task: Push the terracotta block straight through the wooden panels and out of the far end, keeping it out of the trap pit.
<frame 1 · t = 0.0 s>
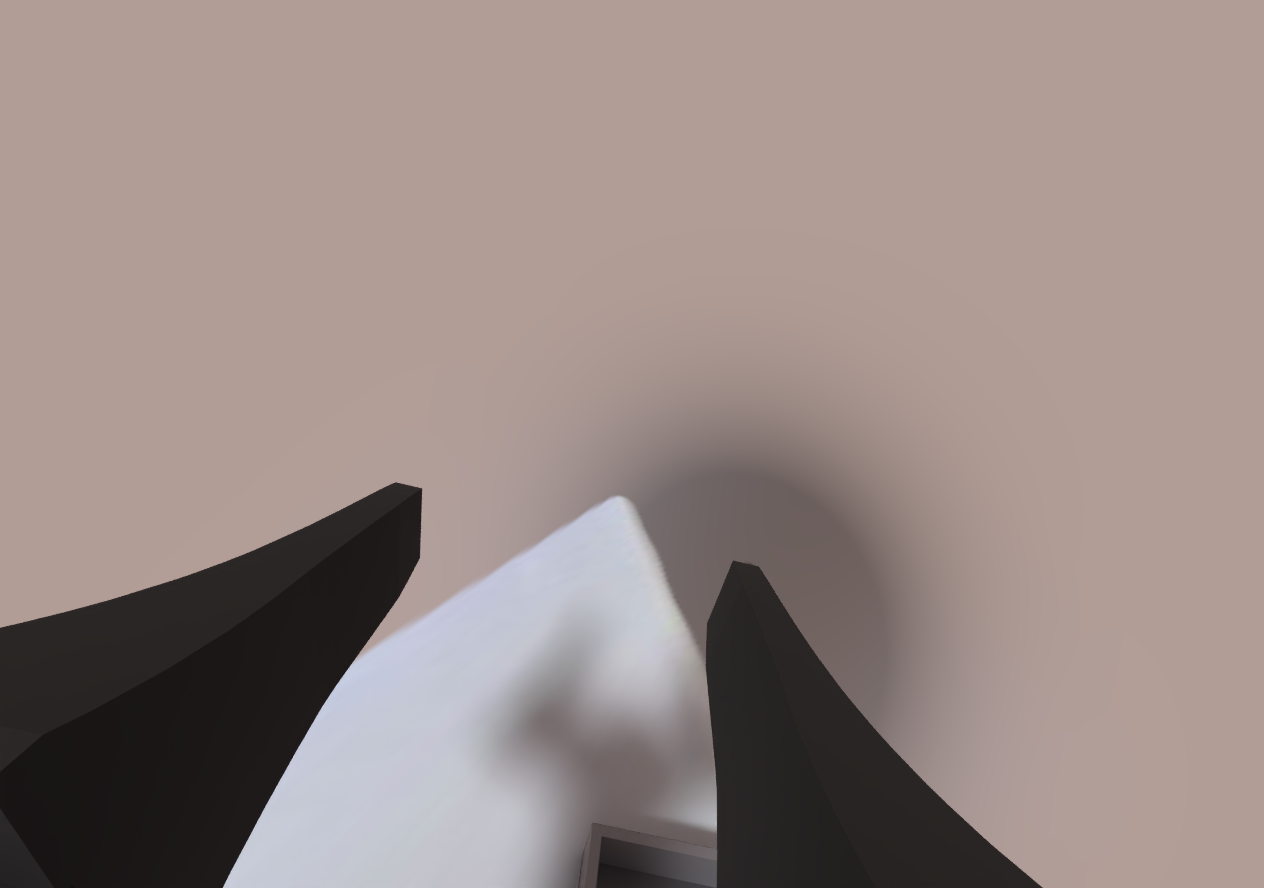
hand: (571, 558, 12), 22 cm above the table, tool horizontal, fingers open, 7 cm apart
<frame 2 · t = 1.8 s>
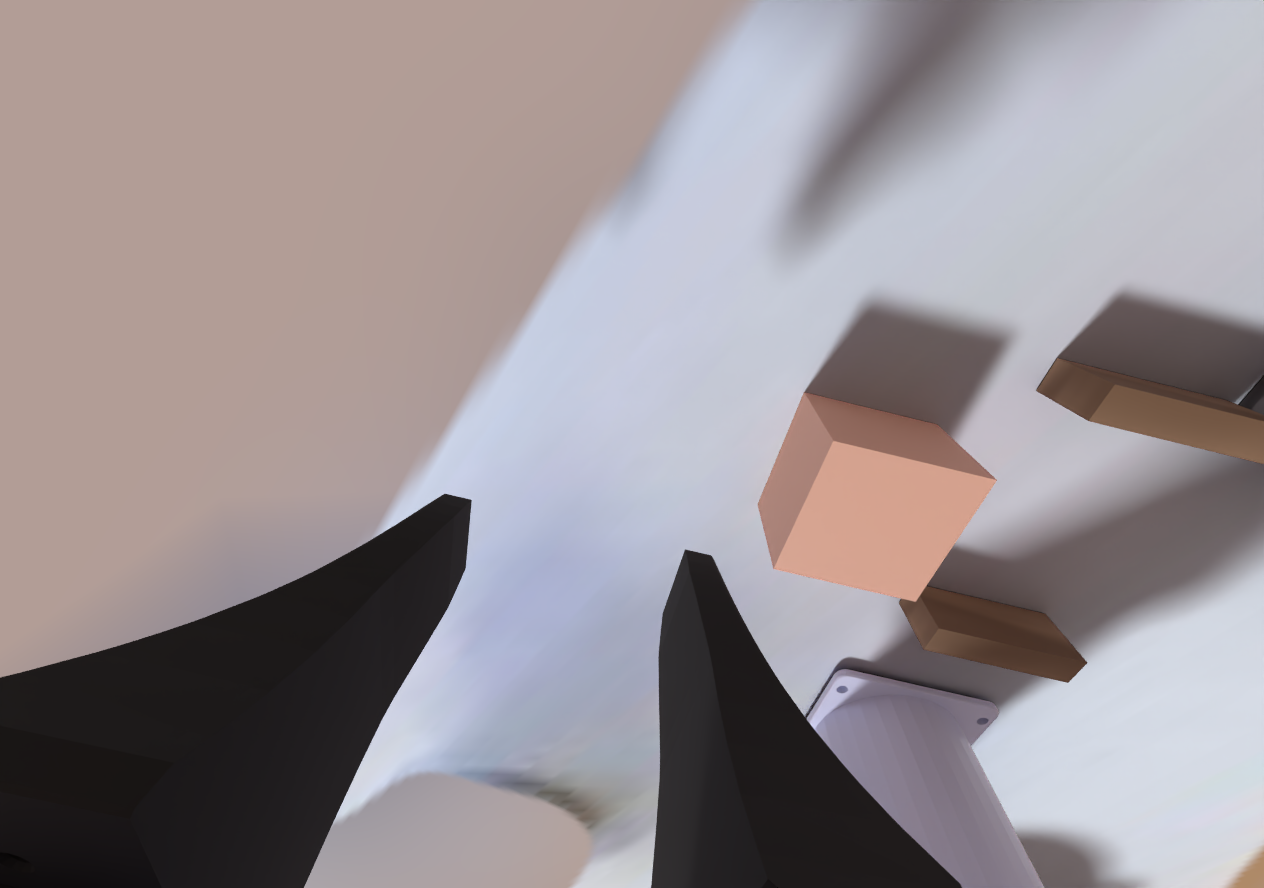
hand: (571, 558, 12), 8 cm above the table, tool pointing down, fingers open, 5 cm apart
terracotta block: (841, 464, 19), on the table
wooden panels: (1041, 514, 20), on the table
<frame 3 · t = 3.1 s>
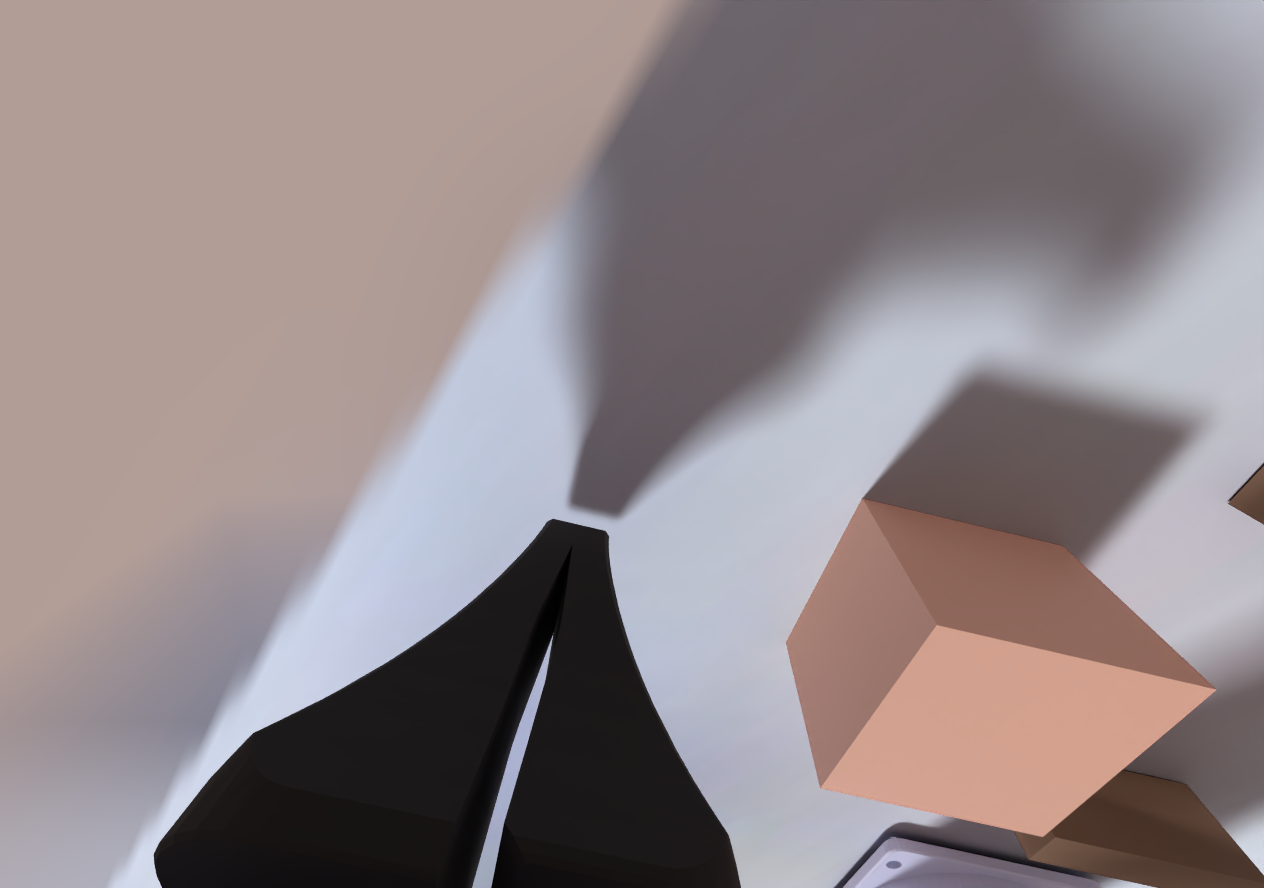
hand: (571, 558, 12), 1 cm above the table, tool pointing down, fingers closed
terracotta block: (911, 594, 13), on the table
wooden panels: (1203, 666, 13), on the table
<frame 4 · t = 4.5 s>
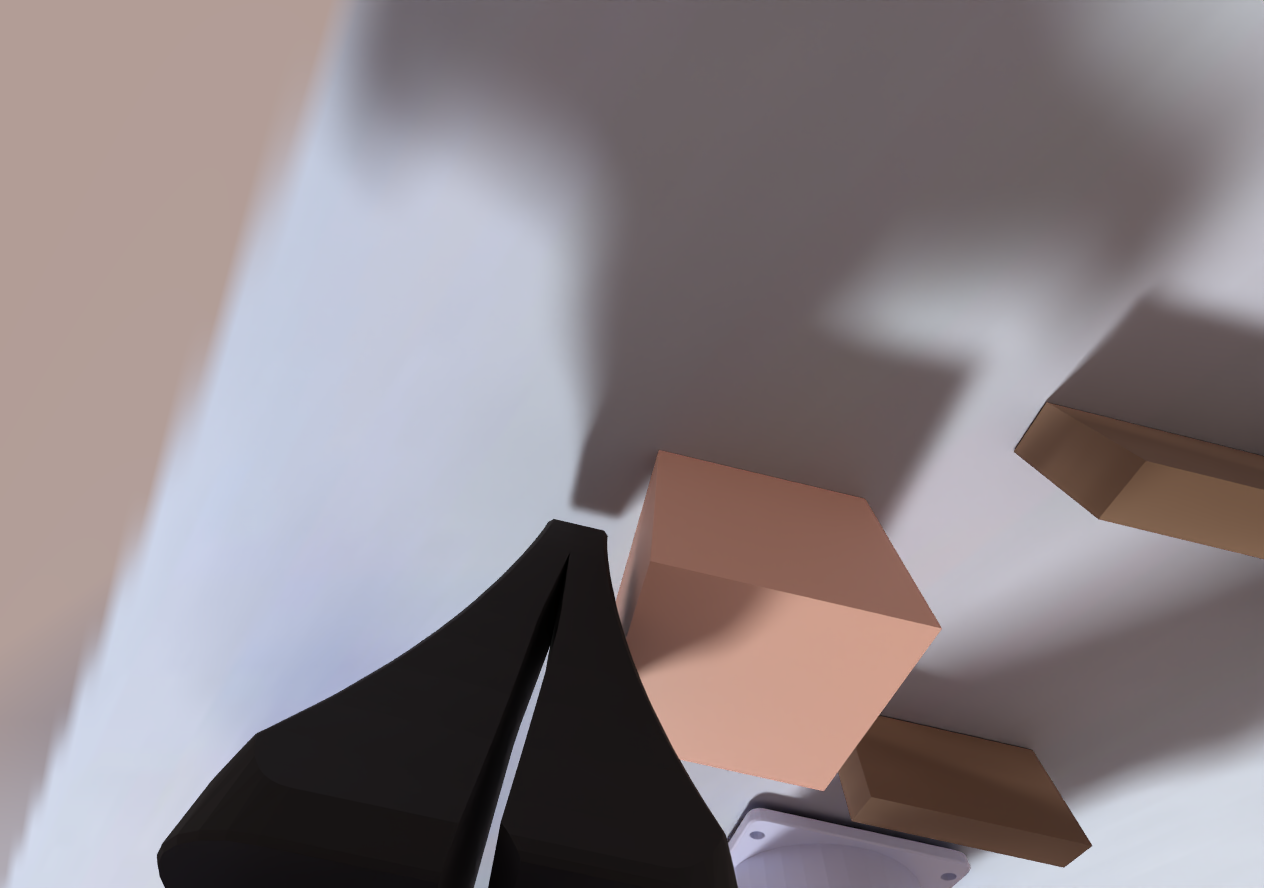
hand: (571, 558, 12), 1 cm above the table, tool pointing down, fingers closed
terracotta block: (729, 553, 13), on the table, touching gripper
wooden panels: (1024, 625, 13), on the table
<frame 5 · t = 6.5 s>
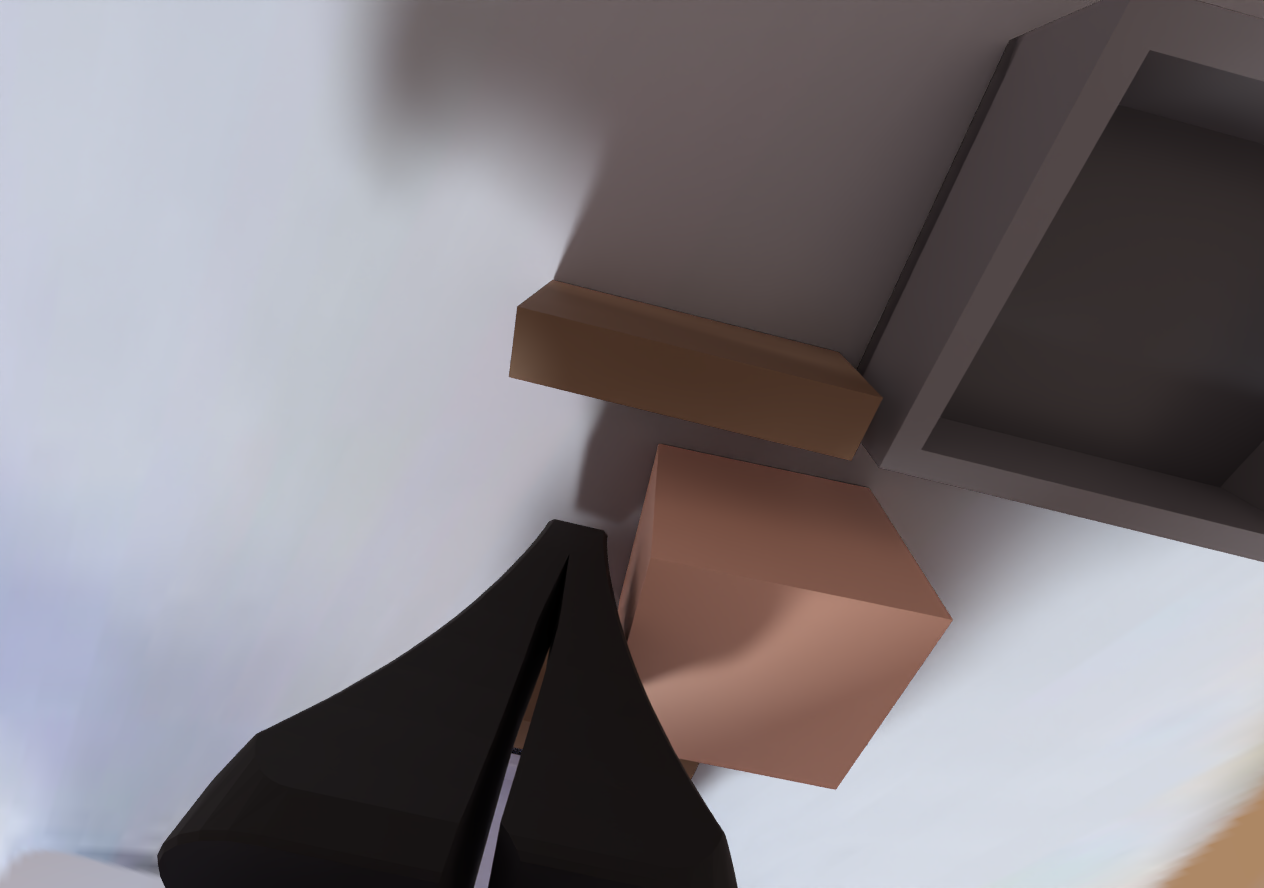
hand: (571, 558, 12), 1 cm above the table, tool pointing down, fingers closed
trap pit: (1124, 310, 10), on the table
terracotta block: (733, 549, 13), on the table, touching gripper
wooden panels: (633, 534, 13), on the table
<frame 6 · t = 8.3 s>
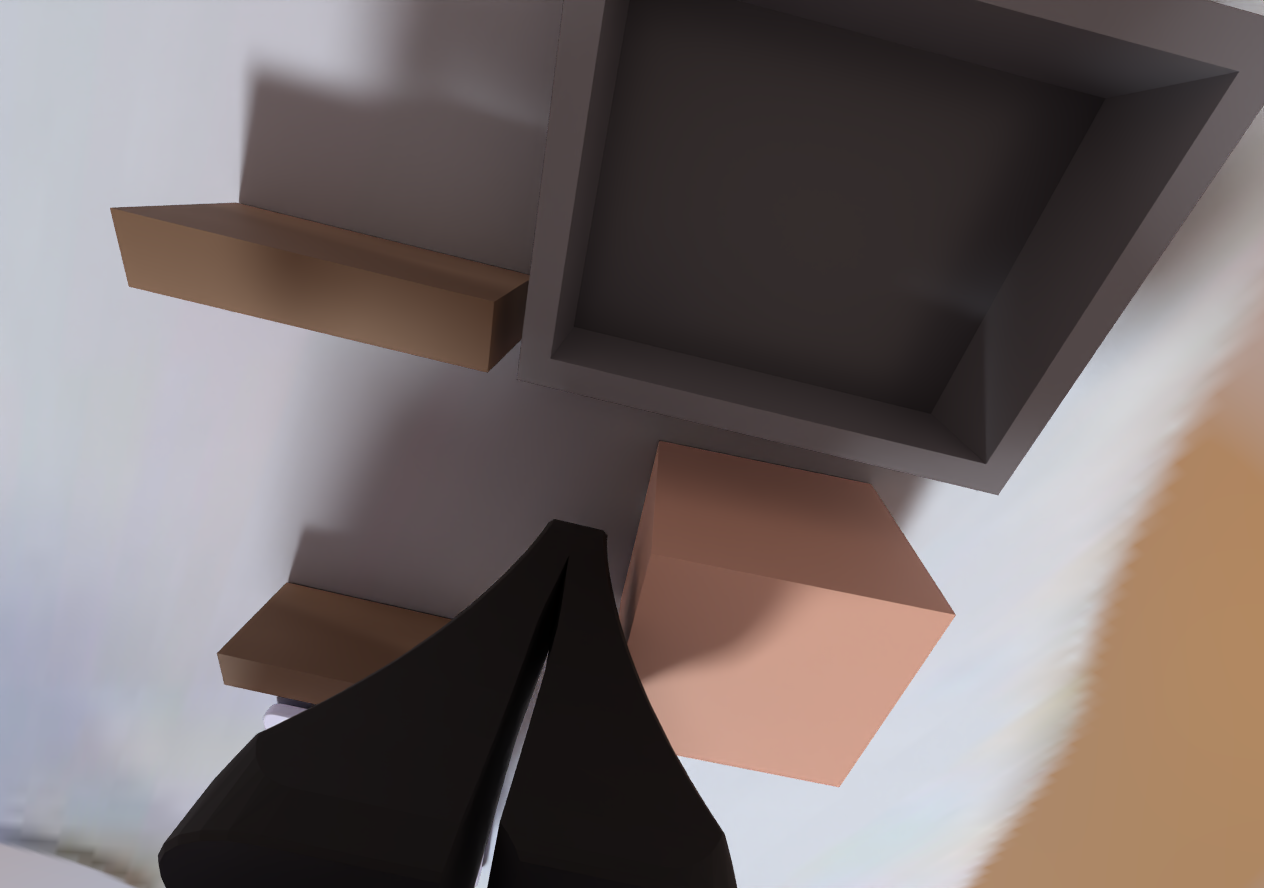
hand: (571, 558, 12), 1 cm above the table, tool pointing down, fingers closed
trap pit: (800, 225, 9), on the table
terracotta block: (735, 546, 13), on the table, touching gripper
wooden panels: (388, 477, 13), on the table
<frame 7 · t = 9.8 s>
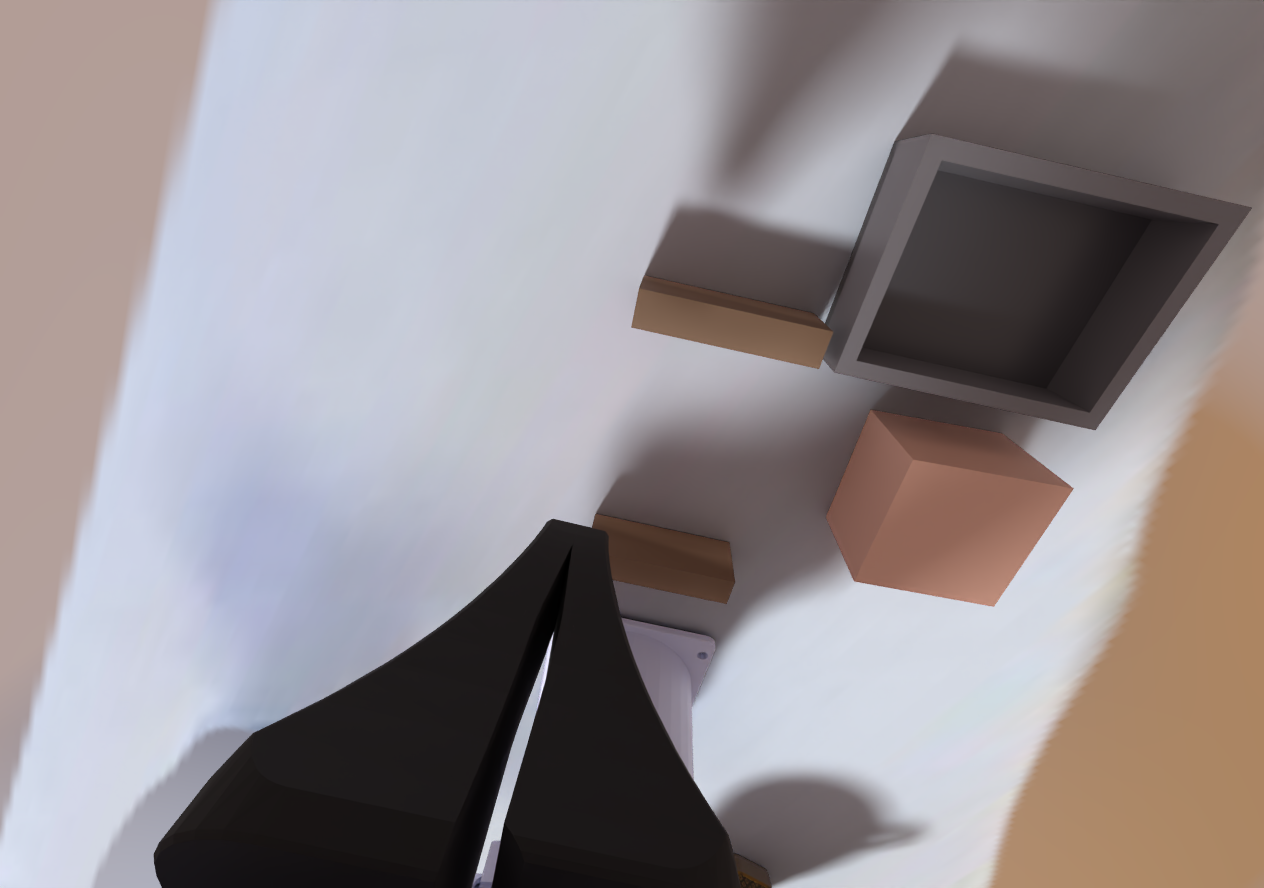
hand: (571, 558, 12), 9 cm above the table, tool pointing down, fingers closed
ceramic cup: (742, 873, 35), on the table
trap pit: (976, 283, 17), on the table
terracotta block: (907, 476, 20), on the table
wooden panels: (688, 438, 20), on the table
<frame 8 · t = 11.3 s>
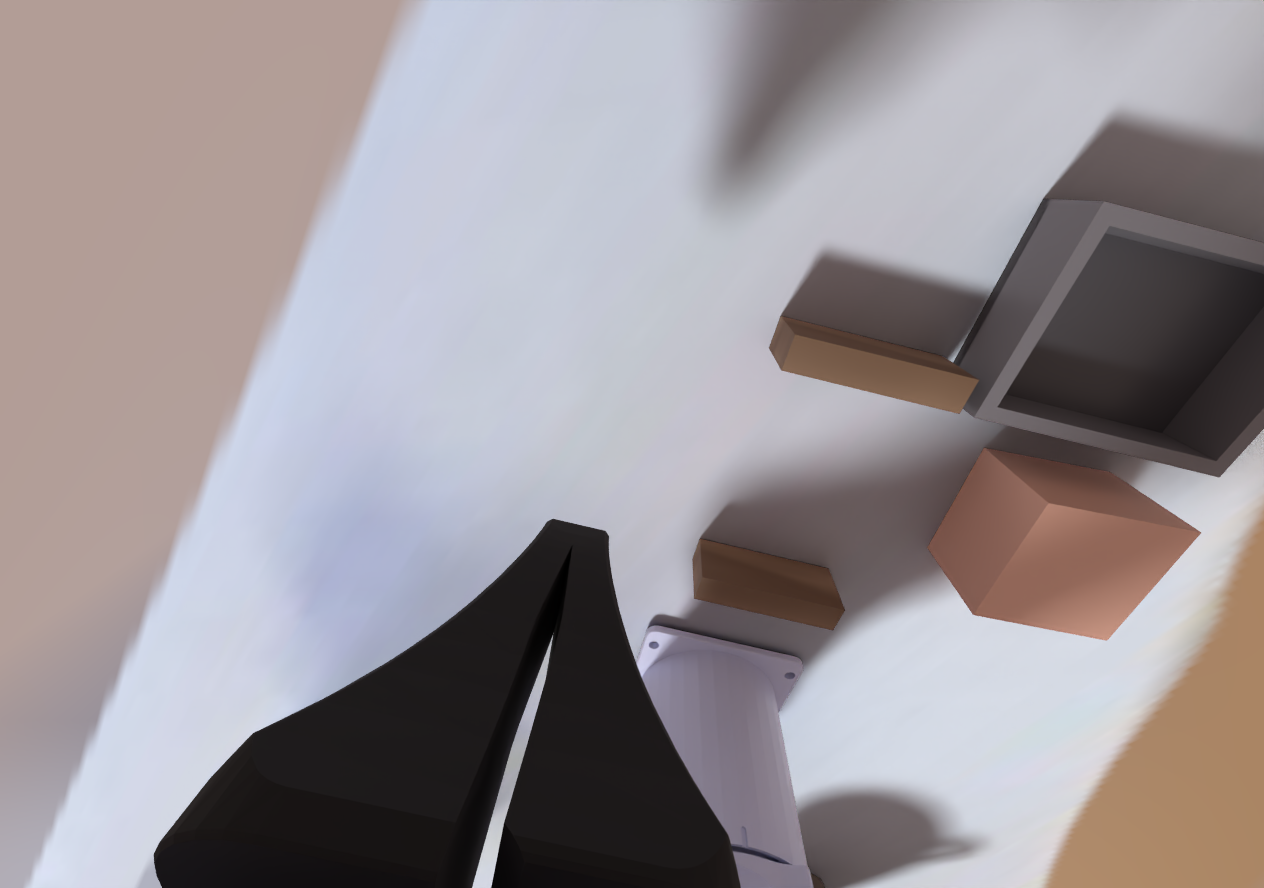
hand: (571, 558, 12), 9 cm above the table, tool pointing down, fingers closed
trap pit: (1105, 332, 17), on the table
terracotta block: (1011, 510, 21), on the table
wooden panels: (802, 469, 21), on the table
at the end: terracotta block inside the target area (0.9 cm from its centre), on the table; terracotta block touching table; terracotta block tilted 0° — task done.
